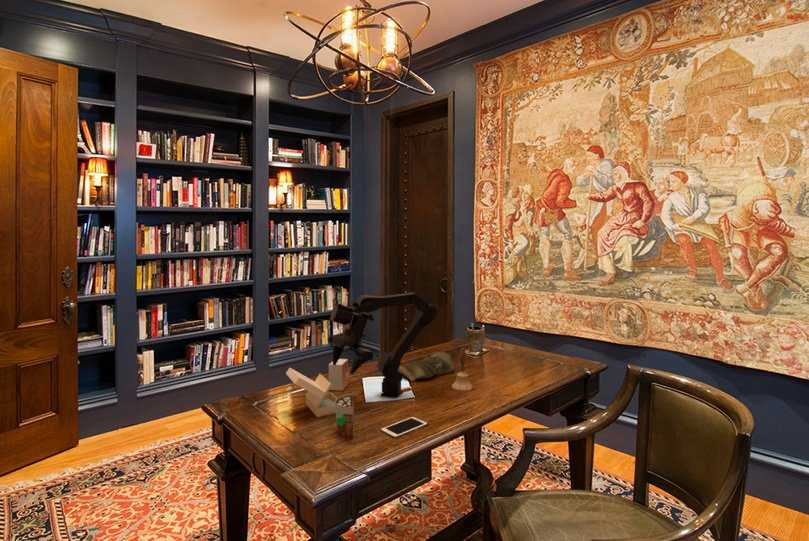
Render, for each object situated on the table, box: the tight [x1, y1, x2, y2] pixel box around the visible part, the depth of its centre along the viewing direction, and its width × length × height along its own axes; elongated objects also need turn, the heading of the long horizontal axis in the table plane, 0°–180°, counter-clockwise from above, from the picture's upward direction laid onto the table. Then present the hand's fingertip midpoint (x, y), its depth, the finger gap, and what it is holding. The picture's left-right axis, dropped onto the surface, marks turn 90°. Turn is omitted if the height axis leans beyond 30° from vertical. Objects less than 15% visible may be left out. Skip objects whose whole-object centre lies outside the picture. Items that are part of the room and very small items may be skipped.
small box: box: [328, 358, 349, 392], centre depth 183 cm, size 8×6×10 cm
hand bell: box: [451, 347, 474, 392], centre depth 182 cm, size 8×8×16 cm
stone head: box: [398, 351, 455, 383], centre depth 202 cm, size 19×8×28 cm
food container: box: [333, 393, 355, 439], centre depth 144 cm, size 12×6×10 cm, turn 5°
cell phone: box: [379, 416, 429, 439], centre depth 147 cm, size 8×15×1 cm, turn 132°
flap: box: [285, 367, 332, 408], centre depth 159 cm, size 9×12×12 cm
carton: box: [305, 391, 338, 418], centre depth 163 cm, size 10×12×3 cm
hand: (342, 369), depth 167 cm, fingers open, 9 cm apart
